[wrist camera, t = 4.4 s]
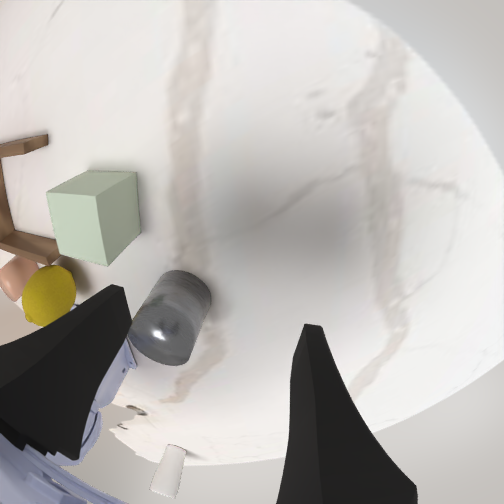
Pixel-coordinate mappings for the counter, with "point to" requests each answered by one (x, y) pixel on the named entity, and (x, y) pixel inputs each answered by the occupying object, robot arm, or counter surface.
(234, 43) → the counter surface
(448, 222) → the counter surface
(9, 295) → the peach rounded cylinder
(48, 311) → the lemon
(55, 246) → the corral
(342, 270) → the counter surface
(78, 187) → the block
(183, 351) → the can
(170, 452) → the drinking glass
